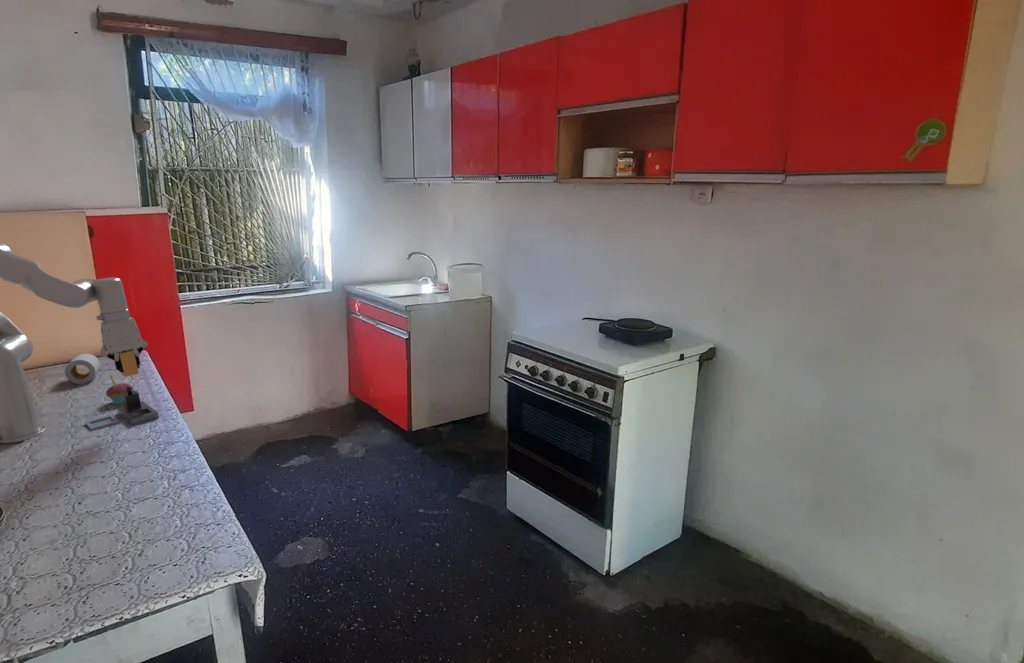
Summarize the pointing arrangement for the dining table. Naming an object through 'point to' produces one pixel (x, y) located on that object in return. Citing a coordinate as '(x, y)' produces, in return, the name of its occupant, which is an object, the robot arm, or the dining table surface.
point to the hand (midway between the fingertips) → (129, 369)
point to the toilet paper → (79, 376)
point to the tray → (102, 422)
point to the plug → (128, 363)
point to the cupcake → (117, 391)
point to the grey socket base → (135, 408)
